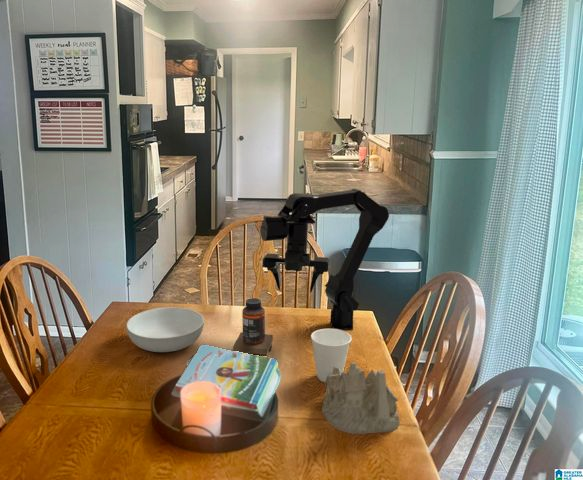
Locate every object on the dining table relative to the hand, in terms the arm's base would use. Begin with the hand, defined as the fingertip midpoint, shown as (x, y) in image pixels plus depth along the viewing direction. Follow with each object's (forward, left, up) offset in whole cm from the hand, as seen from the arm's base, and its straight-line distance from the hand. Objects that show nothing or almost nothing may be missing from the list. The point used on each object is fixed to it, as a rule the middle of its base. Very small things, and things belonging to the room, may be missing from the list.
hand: (295, 290), depth 151 cm
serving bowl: (+34, +14, -13) cm, 39 cm away
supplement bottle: (+9, +16, -9) cm, 20 cm away
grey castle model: (-20, +39, -14) cm, 46 cm away
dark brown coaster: (+9, +16, -13) cm, 22 cm away
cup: (-12, +25, -13) cm, 31 cm away
